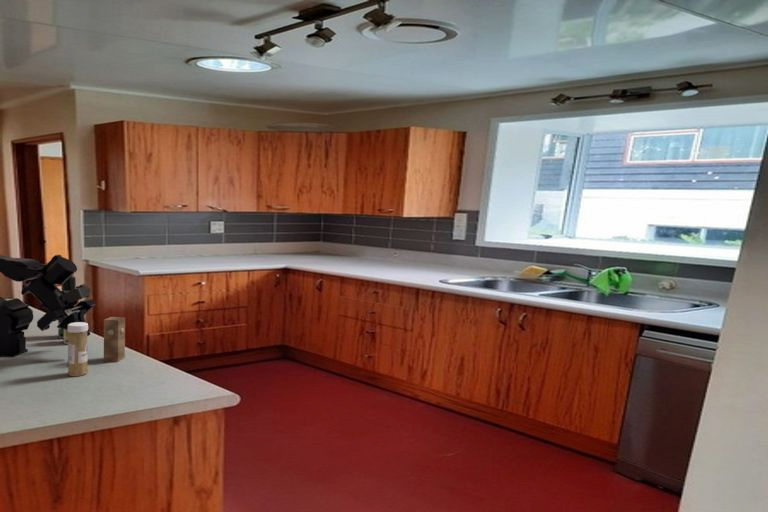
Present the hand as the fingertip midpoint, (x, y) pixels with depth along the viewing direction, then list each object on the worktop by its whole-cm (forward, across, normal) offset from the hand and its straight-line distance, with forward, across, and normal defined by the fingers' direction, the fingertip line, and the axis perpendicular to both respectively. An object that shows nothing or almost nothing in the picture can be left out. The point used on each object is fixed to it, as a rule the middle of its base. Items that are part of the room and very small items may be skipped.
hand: (88, 335), depth 143 cm
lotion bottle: (-8, +20, +18) cm, 28 cm away
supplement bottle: (-4, +14, +14) cm, 21 cm away
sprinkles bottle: (+8, -13, +2) cm, 16 cm away
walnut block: (+10, 0, 0) cm, 10 cm away
